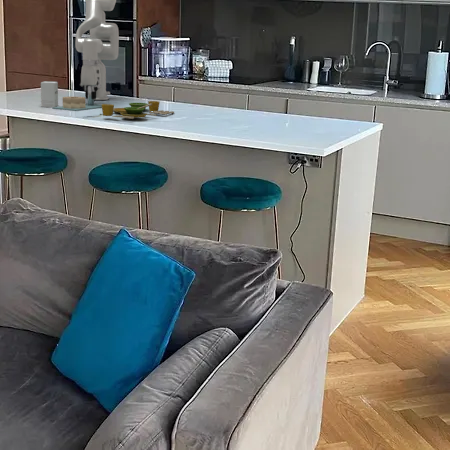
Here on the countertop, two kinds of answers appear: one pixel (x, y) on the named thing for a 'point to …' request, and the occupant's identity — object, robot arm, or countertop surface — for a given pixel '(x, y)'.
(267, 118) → the countertop surface
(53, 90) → the supplement box
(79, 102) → the tan box
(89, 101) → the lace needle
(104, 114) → the tableware set
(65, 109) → the mat
